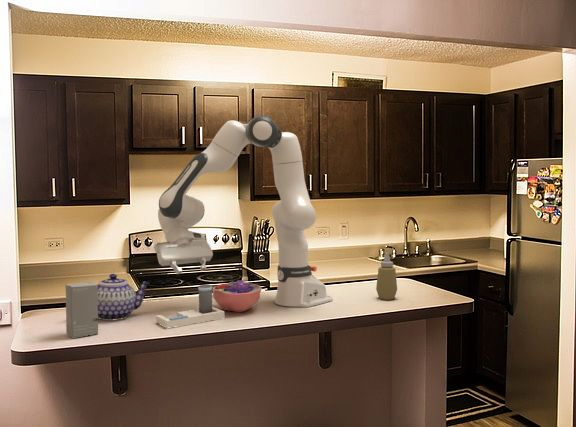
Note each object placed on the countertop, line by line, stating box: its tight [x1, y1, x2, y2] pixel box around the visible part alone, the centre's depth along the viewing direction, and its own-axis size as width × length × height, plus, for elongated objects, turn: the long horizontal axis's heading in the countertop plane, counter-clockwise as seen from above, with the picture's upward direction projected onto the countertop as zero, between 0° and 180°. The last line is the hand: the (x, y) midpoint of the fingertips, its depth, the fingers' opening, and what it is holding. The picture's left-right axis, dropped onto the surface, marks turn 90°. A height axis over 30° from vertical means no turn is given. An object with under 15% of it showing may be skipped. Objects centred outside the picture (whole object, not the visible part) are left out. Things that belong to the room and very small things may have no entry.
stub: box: [198, 284, 213, 314], centre depth 203 cm, size 5×5×11 cm
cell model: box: [212, 279, 263, 313], centre depth 213 cm, size 17×20×11 cm
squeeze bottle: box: [375, 252, 398, 301], centre depth 230 cm, size 8×8×18 cm
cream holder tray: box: [155, 306, 226, 329], centre depth 199 cm, size 21×8×3 cm, turn 125°
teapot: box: [97, 273, 151, 321], centre depth 205 cm, size 25×15×15 cm, turn 110°
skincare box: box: [64, 282, 99, 339], centre depth 184 cm, size 8×7×16 cm
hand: (192, 271), depth 210 cm, fingers open, 8 cm apart
